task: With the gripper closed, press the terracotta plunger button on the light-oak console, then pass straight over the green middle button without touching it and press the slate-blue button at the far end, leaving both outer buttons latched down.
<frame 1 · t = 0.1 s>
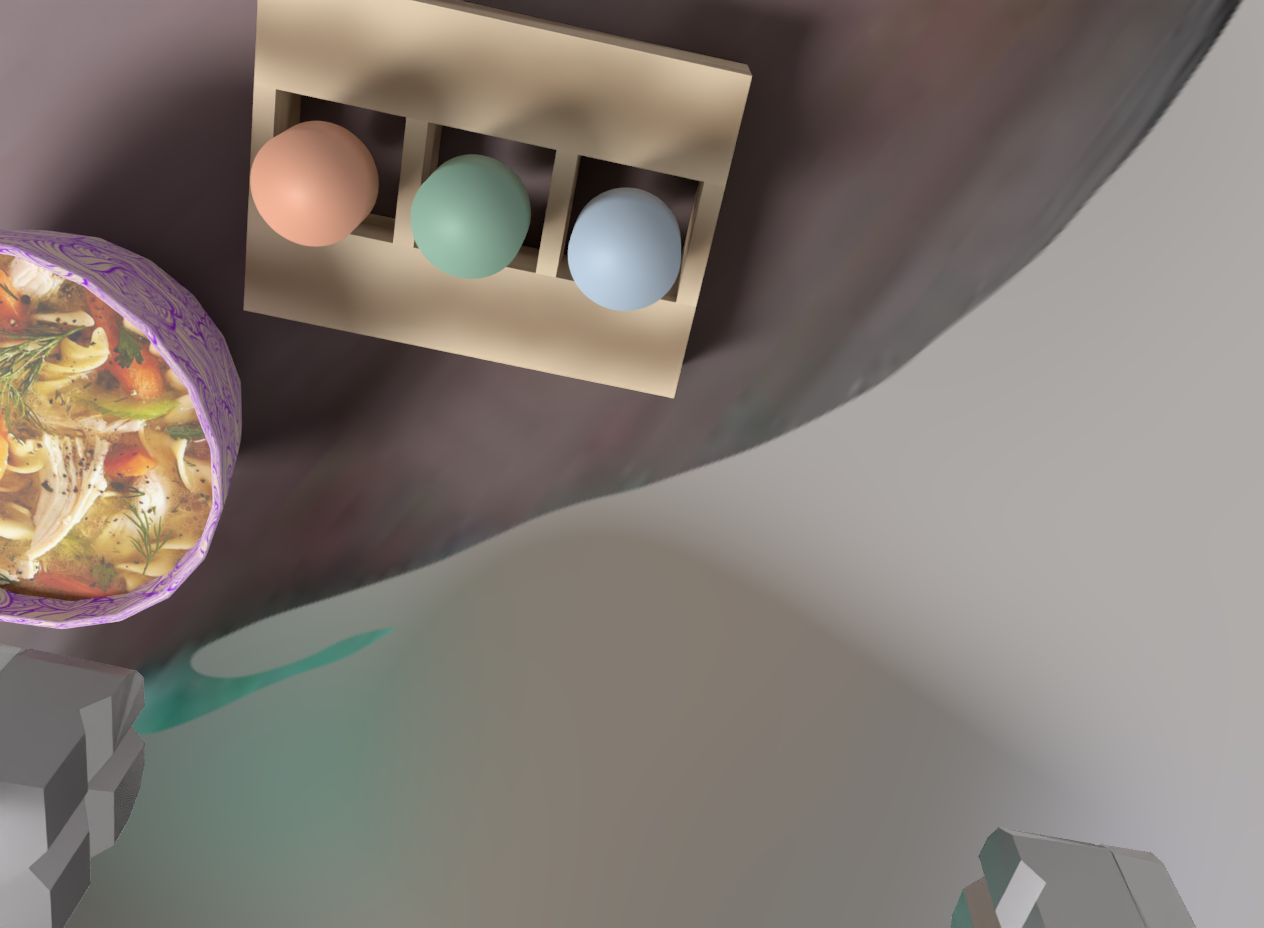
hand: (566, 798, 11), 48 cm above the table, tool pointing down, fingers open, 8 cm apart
bowl of food: (121, 356, 61), on the table
console: (495, 181, 56), on the table
button terracotta: (327, 175, 50), point 5 cm above the table, slide at 0.0 cm
button green: (478, 207, 51), point 5 cm above the table, slide at 0.0 cm
button slate: (627, 238, 51), point 5 cm above the table, slide at 0.0 cm
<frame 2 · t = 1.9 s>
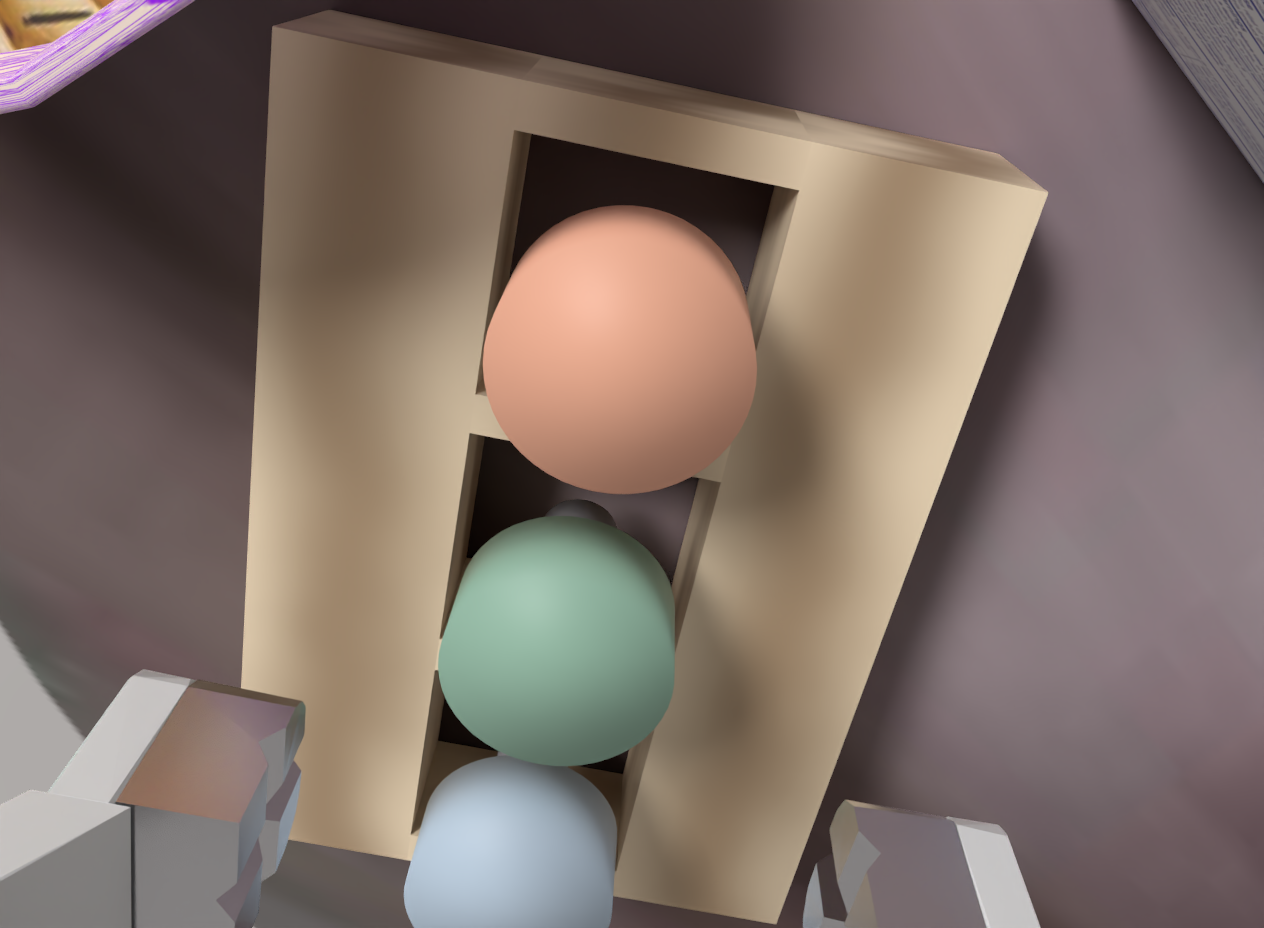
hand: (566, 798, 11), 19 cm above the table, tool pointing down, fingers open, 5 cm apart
console: (586, 487, 31), on the table
button terracotta: (626, 319, 23), point 5 cm above the table, slide at 0.0 cm
button green: (568, 597, 26), point 5 cm above the table, slide at 0.0 cm
button slate: (523, 814, 29), point 5 cm above the table, slide at 0.0 cm
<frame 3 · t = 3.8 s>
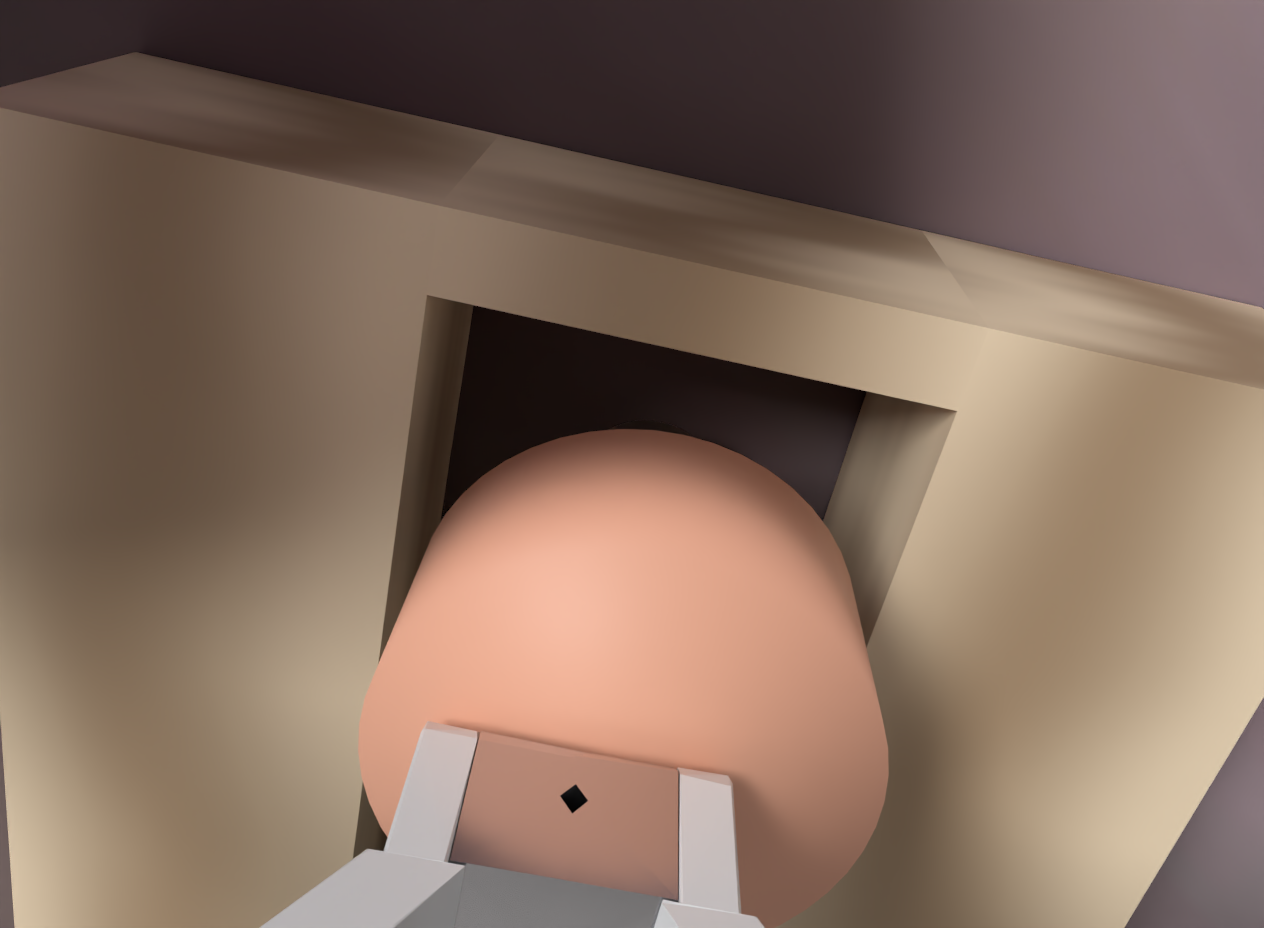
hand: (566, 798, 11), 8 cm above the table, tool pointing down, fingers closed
console: (568, 771, 20), on the table
button terracotta: (636, 600, 13), point 5 cm above the table, slide at 1.0 cm, touching gripper
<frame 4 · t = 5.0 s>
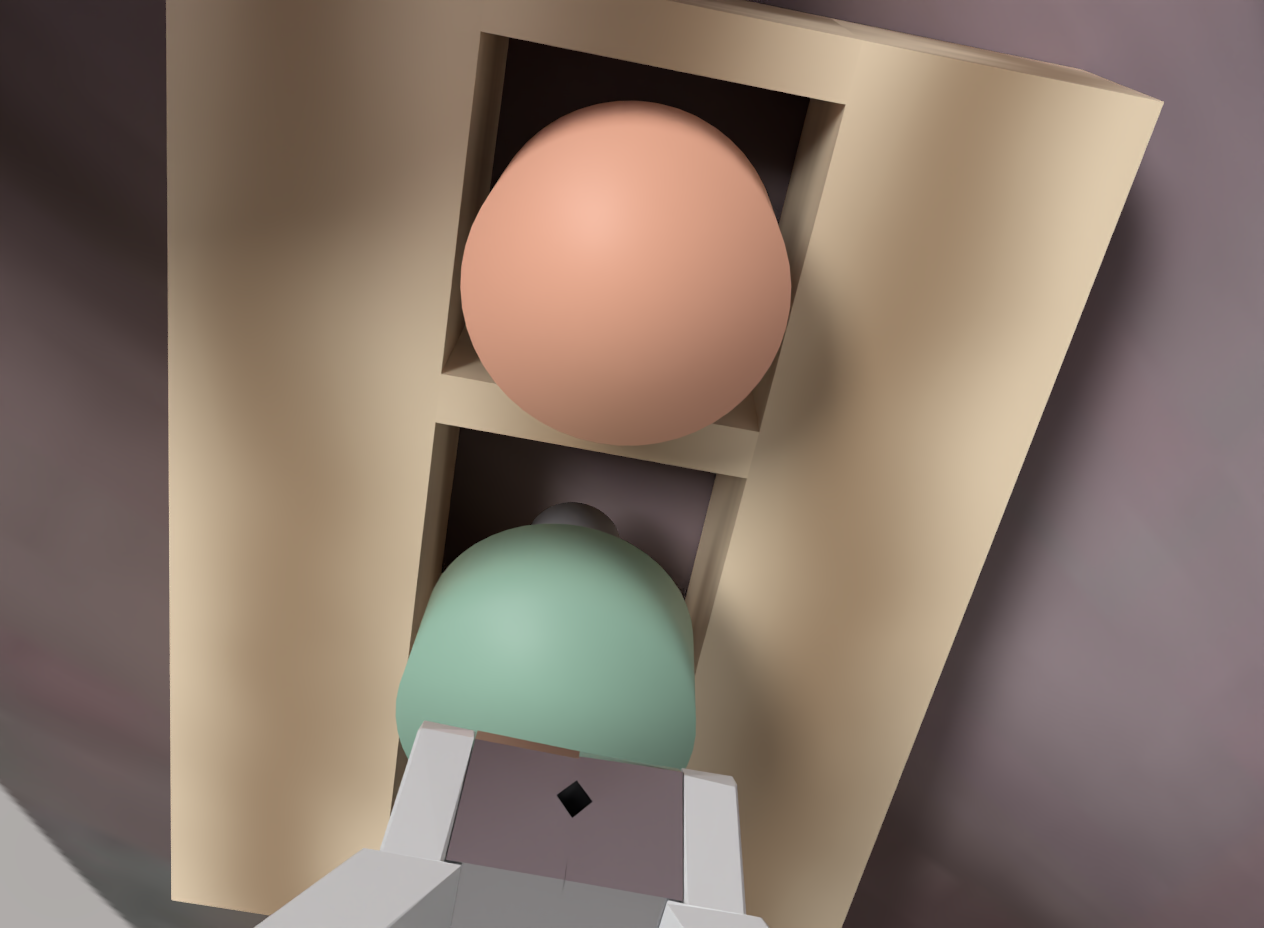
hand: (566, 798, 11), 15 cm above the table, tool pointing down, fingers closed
console: (581, 488, 26), on the table
button terracotta: (631, 244, 19), point 4 cm above the table, slide at 1.7 cm
button green: (561, 623, 21), point 5 cm above the table, slide at 0.0 cm
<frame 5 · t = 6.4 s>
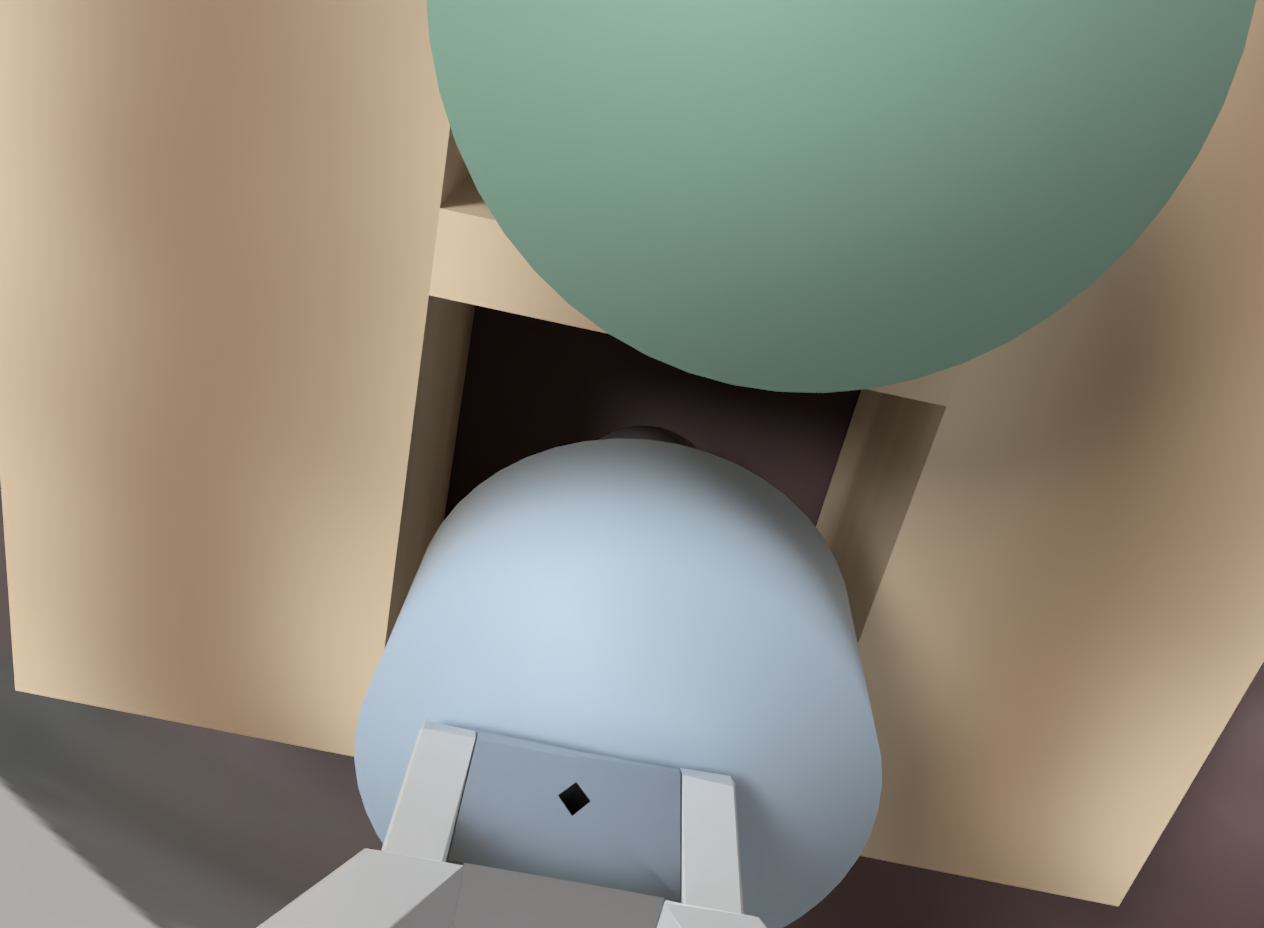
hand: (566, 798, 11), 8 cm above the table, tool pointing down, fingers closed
button slate: (632, 607, 13), point 5 cm above the table, slide at 0.6 cm, touching gripper
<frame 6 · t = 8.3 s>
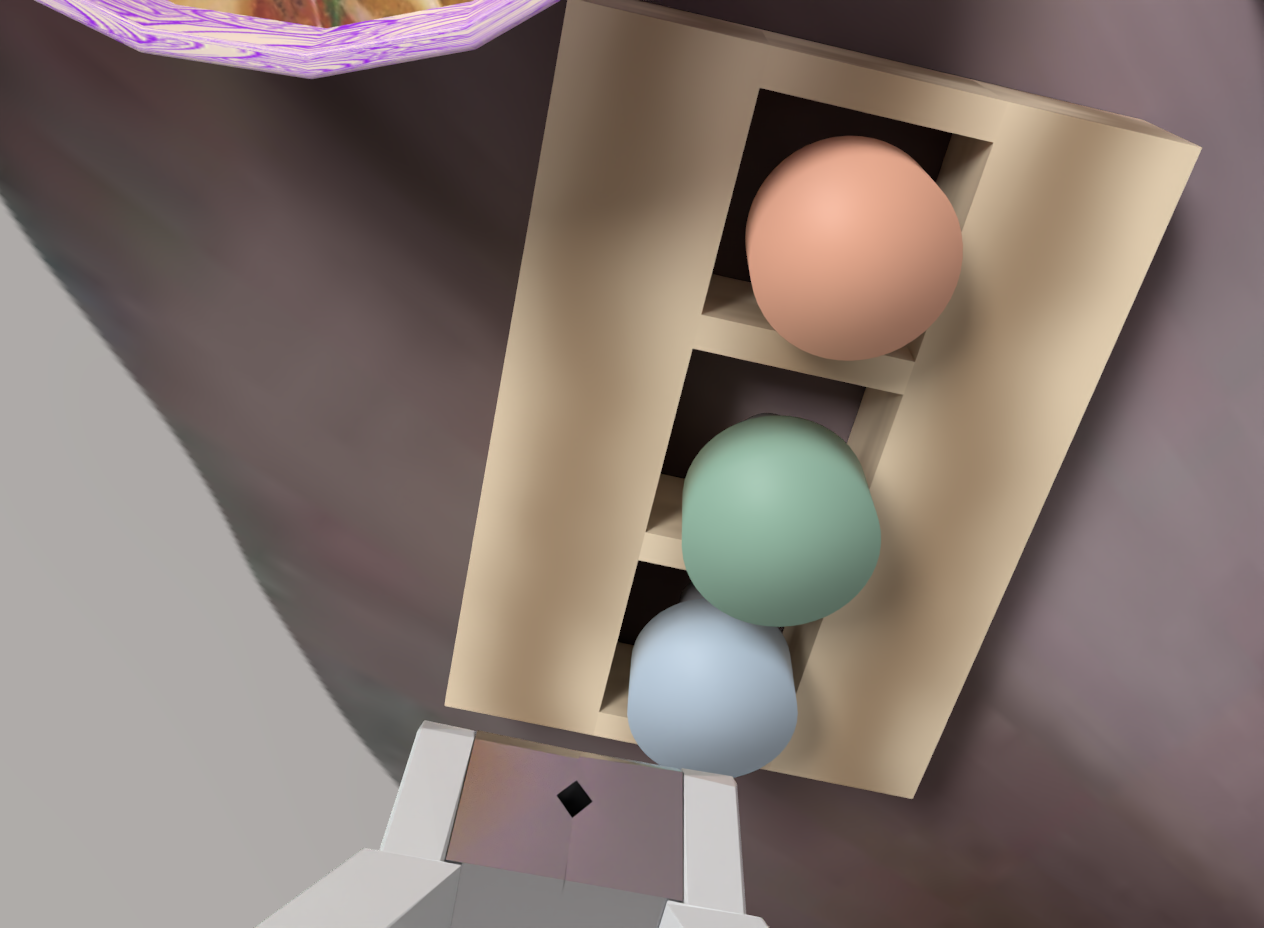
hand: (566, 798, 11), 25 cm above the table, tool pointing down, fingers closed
console: (761, 409, 35), on the table
button terracotta: (840, 229, 29), point 4 cm above the table, slide at 1.7 cm
button green: (772, 489, 30), point 5 cm above the table, slide at 0.0 cm
button slate: (710, 654, 35), point 4 cm above the table, slide at 1.7 cm
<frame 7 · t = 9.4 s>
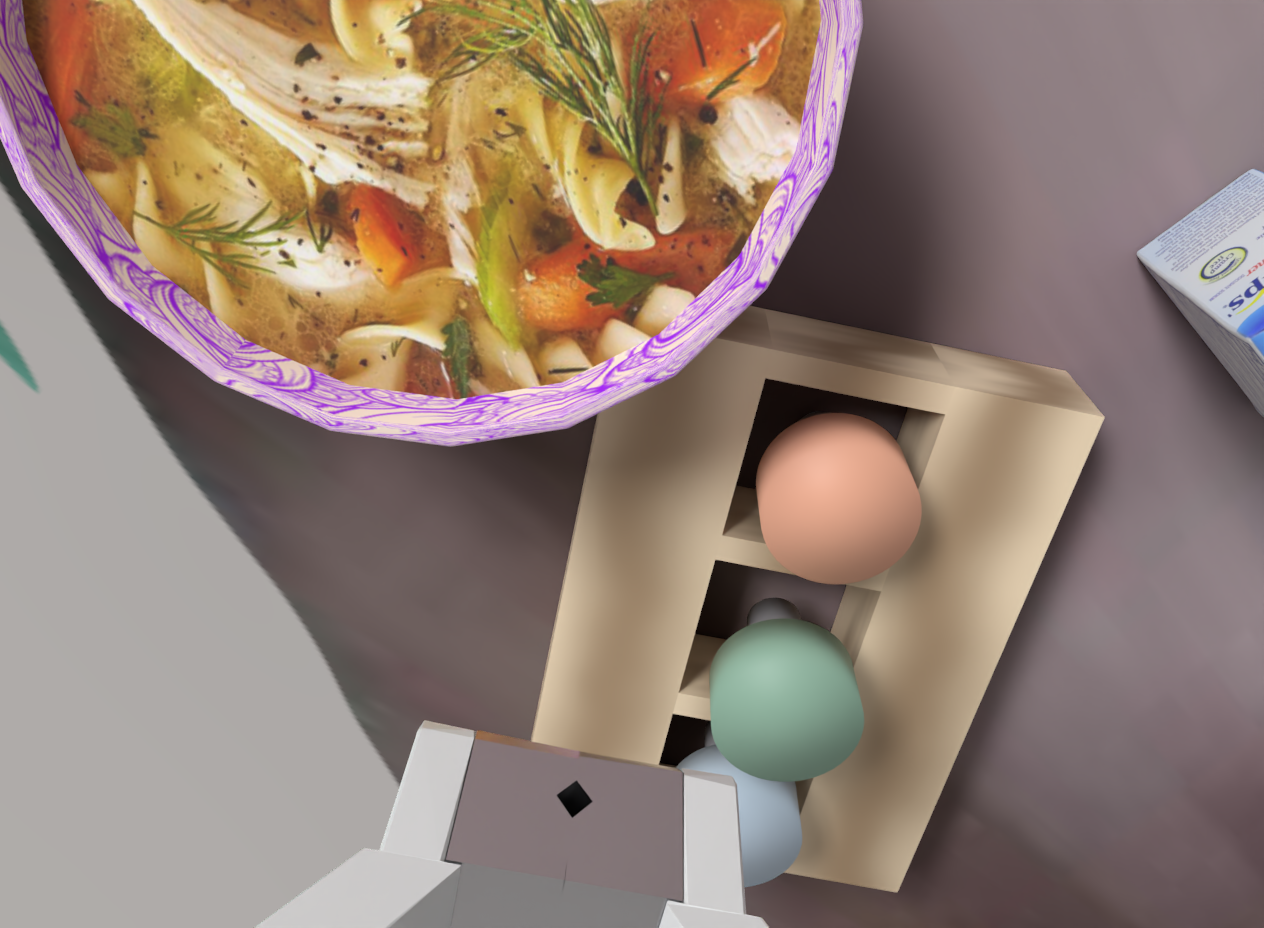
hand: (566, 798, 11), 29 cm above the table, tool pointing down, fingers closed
console: (768, 583, 44), on the table
button terracotta: (829, 473, 37), point 4 cm above the table, slide at 1.7 cm
button green: (780, 668, 39), point 5 cm above the table, slide at 0.0 cm
medicine box: (1246, 290, 38), on the table
button slate: (731, 782, 43), point 4 cm above the table, slide at 1.7 cm
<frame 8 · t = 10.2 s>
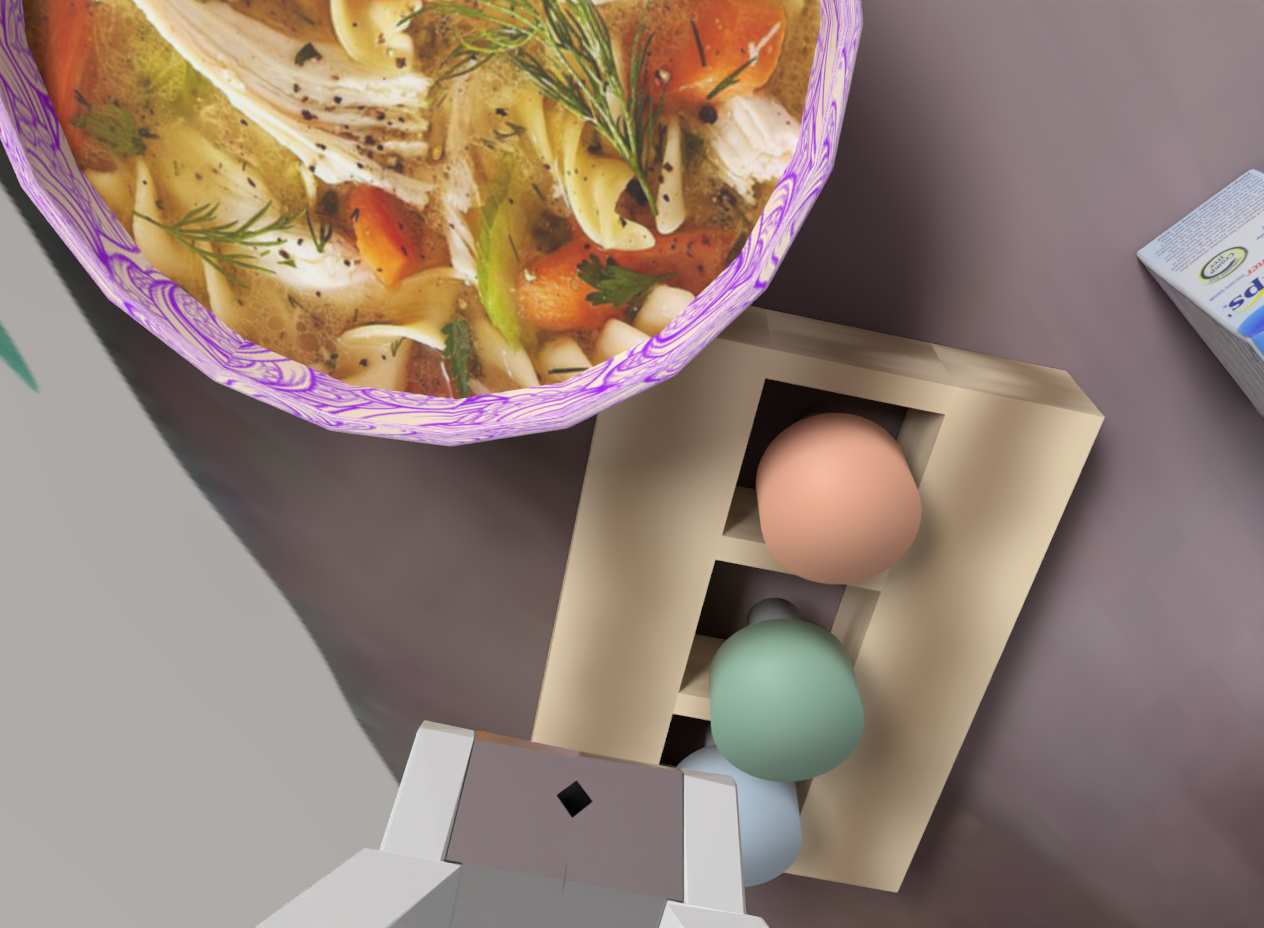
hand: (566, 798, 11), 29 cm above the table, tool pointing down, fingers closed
console: (768, 583, 44), on the table
button terracotta: (829, 473, 37), point 4 cm above the table, slide at 1.7 cm
button green: (780, 668, 39), point 5 cm above the table, slide at 0.0 cm
medicine box: (1246, 290, 38), on the table
button slate: (731, 782, 43), point 4 cm above the table, slide at 1.7 cm
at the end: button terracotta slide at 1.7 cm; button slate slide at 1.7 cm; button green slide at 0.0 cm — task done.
